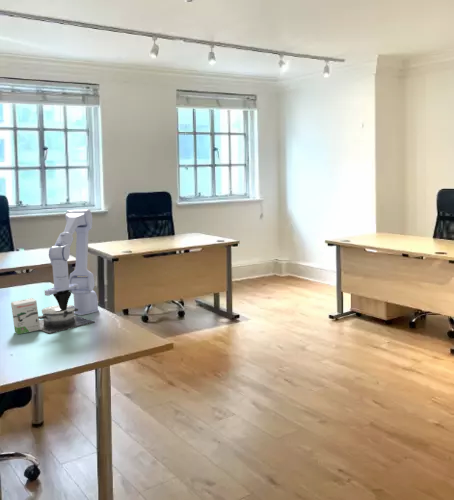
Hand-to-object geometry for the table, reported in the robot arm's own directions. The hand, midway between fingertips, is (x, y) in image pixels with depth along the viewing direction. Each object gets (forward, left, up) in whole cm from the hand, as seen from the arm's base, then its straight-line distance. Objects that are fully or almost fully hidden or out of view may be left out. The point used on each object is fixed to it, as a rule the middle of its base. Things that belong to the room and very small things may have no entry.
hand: (63, 310), depth 228 cm
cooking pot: (0, -4, -6) cm, 7 cm away
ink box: (+13, -4, -6) cm, 15 cm away
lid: (0, -3, -1) cm, 3 cm away
